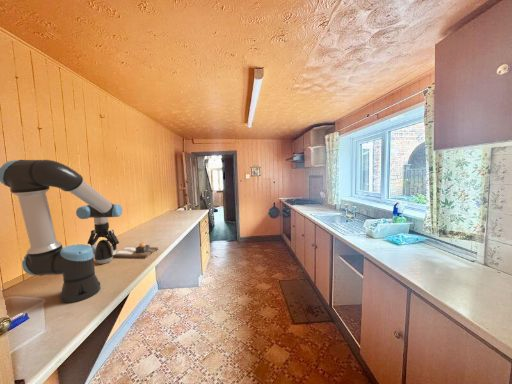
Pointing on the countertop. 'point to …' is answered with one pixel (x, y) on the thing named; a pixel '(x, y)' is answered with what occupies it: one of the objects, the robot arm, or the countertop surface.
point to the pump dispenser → (103, 252)
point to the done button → (142, 245)
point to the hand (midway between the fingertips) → (104, 254)
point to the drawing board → (135, 252)
